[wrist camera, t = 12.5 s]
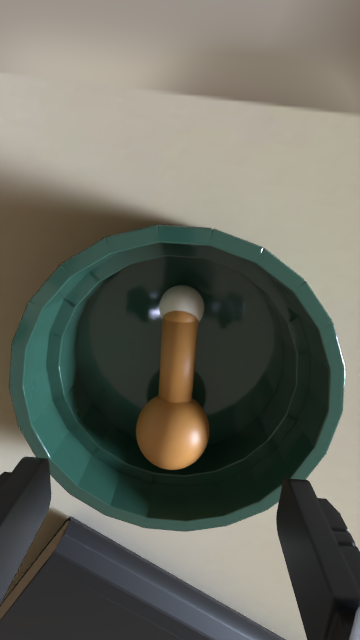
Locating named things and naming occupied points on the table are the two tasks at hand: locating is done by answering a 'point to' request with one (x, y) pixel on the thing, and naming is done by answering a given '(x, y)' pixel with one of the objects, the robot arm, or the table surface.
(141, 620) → the file folder
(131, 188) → the table surface
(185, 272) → the shallow green bowl
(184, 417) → the drumstick
